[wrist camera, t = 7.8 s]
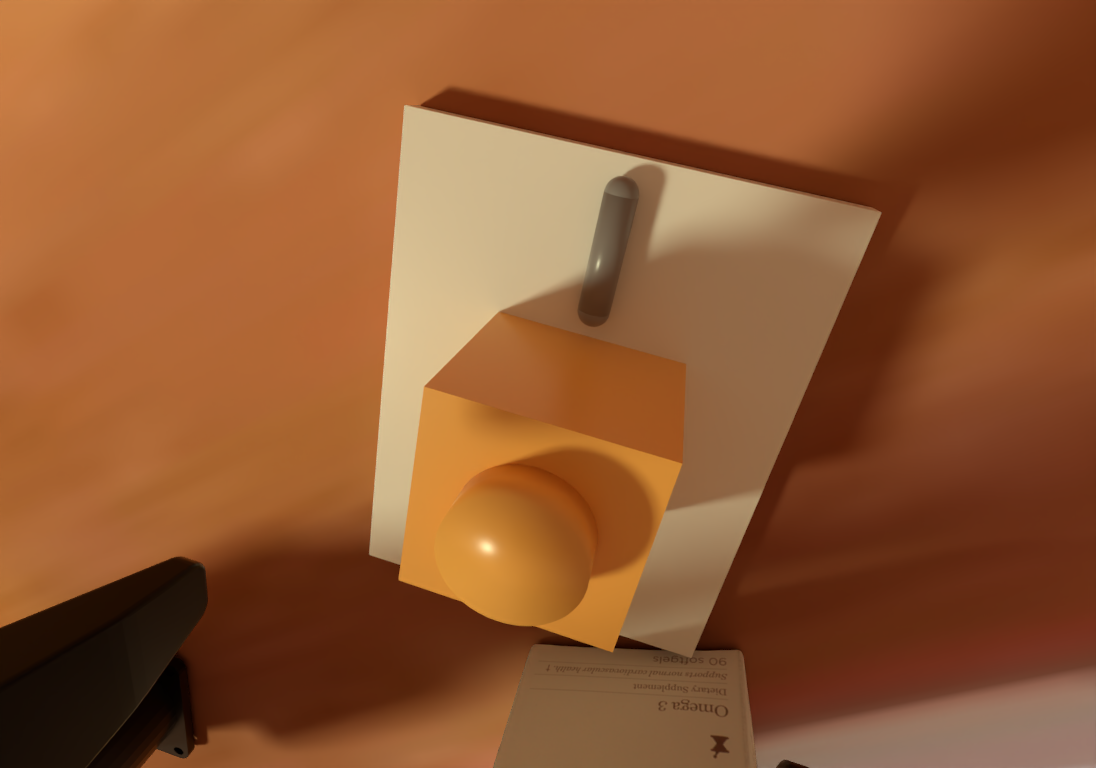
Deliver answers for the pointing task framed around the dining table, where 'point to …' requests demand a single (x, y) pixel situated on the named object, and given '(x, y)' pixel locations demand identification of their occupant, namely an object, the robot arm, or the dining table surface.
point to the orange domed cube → (543, 477)
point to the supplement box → (629, 710)
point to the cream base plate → (618, 314)
